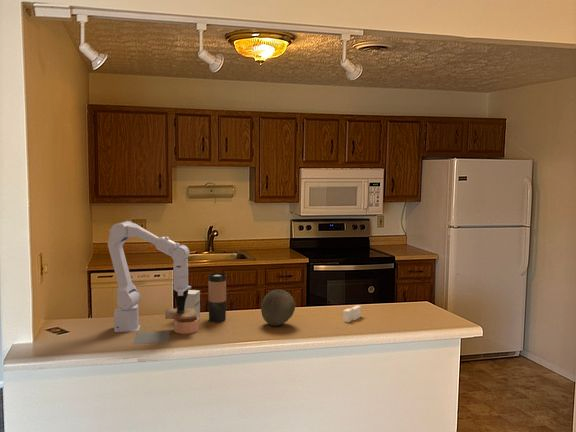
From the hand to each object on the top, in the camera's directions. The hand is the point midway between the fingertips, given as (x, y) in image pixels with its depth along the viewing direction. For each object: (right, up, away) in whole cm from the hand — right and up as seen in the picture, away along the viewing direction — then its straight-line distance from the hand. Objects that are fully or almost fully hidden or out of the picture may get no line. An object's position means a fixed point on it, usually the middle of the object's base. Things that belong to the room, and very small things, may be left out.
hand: (181, 309), depth 216 cm
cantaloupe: (+39, -9, +12) cm, 41 cm away
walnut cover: (0, -2, 0) cm, 2 cm away
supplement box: (0, -8, +18) cm, 19 cm away
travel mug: (+12, -8, +19) cm, 24 cm away
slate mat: (-10, -10, -7) cm, 16 cm away
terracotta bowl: (+2, -9, +3) cm, 10 cm away
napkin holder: (+71, -9, +22) cm, 75 cm away
